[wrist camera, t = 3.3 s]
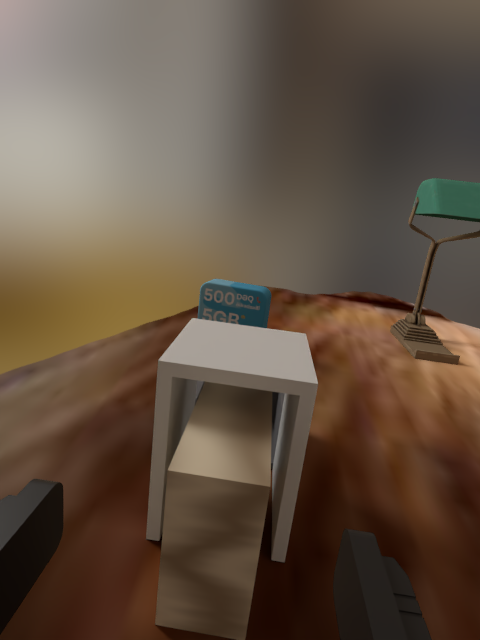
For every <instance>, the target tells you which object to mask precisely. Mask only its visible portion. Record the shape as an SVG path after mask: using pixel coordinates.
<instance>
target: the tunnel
mask: <svg viewBox="0 0 480 640" xmlns="http://www.w3.org/2000/svg"><path fill="white" fill-rule="evenodd" d="M197 380H198V381H205V382H212V383H218V384H225V385H232V386H239V387H245V388H252V389H259V390H266V391H273V392H279V393H285V395H284V401H283V407H282V414H281V420H280V426H279V432H278V438H277V444H276V450H275V456H274V462H273V469H272V539H271V560H273V561H279V562H284V563H285V558H286V552H287V547H288V542H289V536H290V531H291V526H292V520H293V515H294V510H295V504H296V499H297V494H298V488H299V483H300V478H301V472H302V467H303V462H304V456H305V451H306V446H307V440H308V435H309V430H310V424H311V419H312V414H313V408H314V403H315V398H316V392H317V387H318V381H317V377H316V373H315V369H314V365H313V361H312V357H311V353H310V349H309V345H308V341H307V337H306V334H303V333H296V332H289V331H282V330H275V329H268V328H260V327H253V326H246V325H239V324H232V323H225V322H217V321H210V320H203V319H196V318H192V319H191V320H190V322H189V323H188V324H187V325H186V327H185V328H184V329H183V330H182V332H181V333H180V334H179V335H178V337H177V338H176V339H175V340H174V342H173V343H172V344H171V345H170V347H169V348H168V349H167V350H166V352H165V353H164V354H163V355H162V356H161V358H160V359H159V360H158V372H157V387H156V402H155V417H154V431H153V446H152V461H151V476H150V490H149V505H148V520H147V535H146V539H150V540H156V541H159V540H160V537H161V535H162V532H163V521H164V509H165V497H166V484H167V472H168V468H169V466H170V463H171V461H172V459H173V456H174V454H175V452H176V449H177V447H178V445H179V442H180V440H181V437H182V435H183V433H184V430H185V428H186V426H187V423H188V421H189V419H190V416H191V414H192V411H193V409H194V407H195V397H196V387H197Z"/></svg>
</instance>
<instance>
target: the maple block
mask: <svg viewBox="0 0 480 640" xmlns="http://www.w3.org/2000/svg"><path fill="white" fill-rule="evenodd" d="M271 433H272V391H266V390H259V389H252V388H245V387H239V386H232V385H225V384H218V383H212V382H205V383H204V385H203V388H202V390H201V393H200V395H199V397H198V400H197V402H196V404H195V407H194V409H193V411H192V414H191V416H190V419H189V421H188V423H187V426H186V428H185V430H184V433H183V435H182V437H181V440H180V442H179V445H178V447H177V449H176V452H175V454H174V456H173V459H172V461H171V463H170V466H169V468H168V472H167V484H166V497H165V509H164V521H163V534H162V546H161V558H160V571H159V583H158V595H157V608H156V620H155V625H159V626H165V627H170V628H176V629H181V630H187V631H192V632H198V633H203V634H209V635H214V636H219V637H225V638H230V639H236V640H245V638H246V632H247V626H248V620H249V614H250V608H251V601H252V595H253V589H254V583H255V577H256V571H257V565H258V559H259V553H260V547H261V541H262V535H263V529H264V522H265V516H266V510H267V504H268V498H269V492H270V480H271Z"/></svg>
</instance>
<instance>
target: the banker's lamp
mask: <svg viewBox="0 0 480 640" xmlns="http://www.w3.org/2000/svg"><path fill="white" fill-rule="evenodd" d="M414 215H423V216H432V217H440V218H449V219H457V220H465V221H474V222H480V183H472V182H464V181H454V180H446V179H437V178H436V179H435V178H433V179H429V180H426V181H424V182H422V183H421V185H420V186H419V189H418V191H417V195H416V198H415V202H414V205H413V209H412V212H411V215H410V218H409V221H408V222H409V225H410V227H411V228H412V229H413V230H414V231H416V232H418V233H420V234H422V235H424V236H425V237H428V238H429V239H431V240H432V243H431V246H430V248H429V251H428V255H427V258H426V263H425V267H424V271H423V275H422V279H421V283H420V287H419V291H418V295H417V299H416V303H415V307H414V311H413V314H411V313H408V314H407V315H406V317H405V319H400V320H398V322H396V324H393V326H391V330H390V332H391V333H392V334H393V335H394V336H395V337H396V338H397V339H398V340H399V341H400V343H401V344H402V345H403V346H404V347H405V348H406V349H407V350H408V351H409V352H410V354H411V355H412V356H413V357H414V358H416V359H423V360H430V361H437V362H444V363H450V364H457V365H458V361H459V358H460V356H459V355H453V354H452V353H451V352H450V351H449V350H447V349H446V348H445V347H444V346H443V344H442V343H441V340H440V339H438V336H437V335H436V333H435V332H434V330H433V329H431V328H430V327H429V326H428V325H426V324H425V316H424V315H420V313H421V311H422V305H423V301H424V297H425V293H426V289H427V285H428V281H429V277H430V273H431V269H432V265H433V261H434V257H435V254H436V251H437V249H438V246H439V245H440V244H441V243H443V242H447V241H454V240H462V239H469V238H476V237H480V231H478V232H474V233H469V234H463V235H458V236H453V237H448V238H443V239H440V240H438V241H437V242H436V243H435V240H434V239H433V238H432V237H430V236H429V235H427V234H426V233H424V232H423V231H421V230H420V229H418V228H417V227H415V226H414V225H412V224H411V223H412V220H413V217H414Z"/></svg>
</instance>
